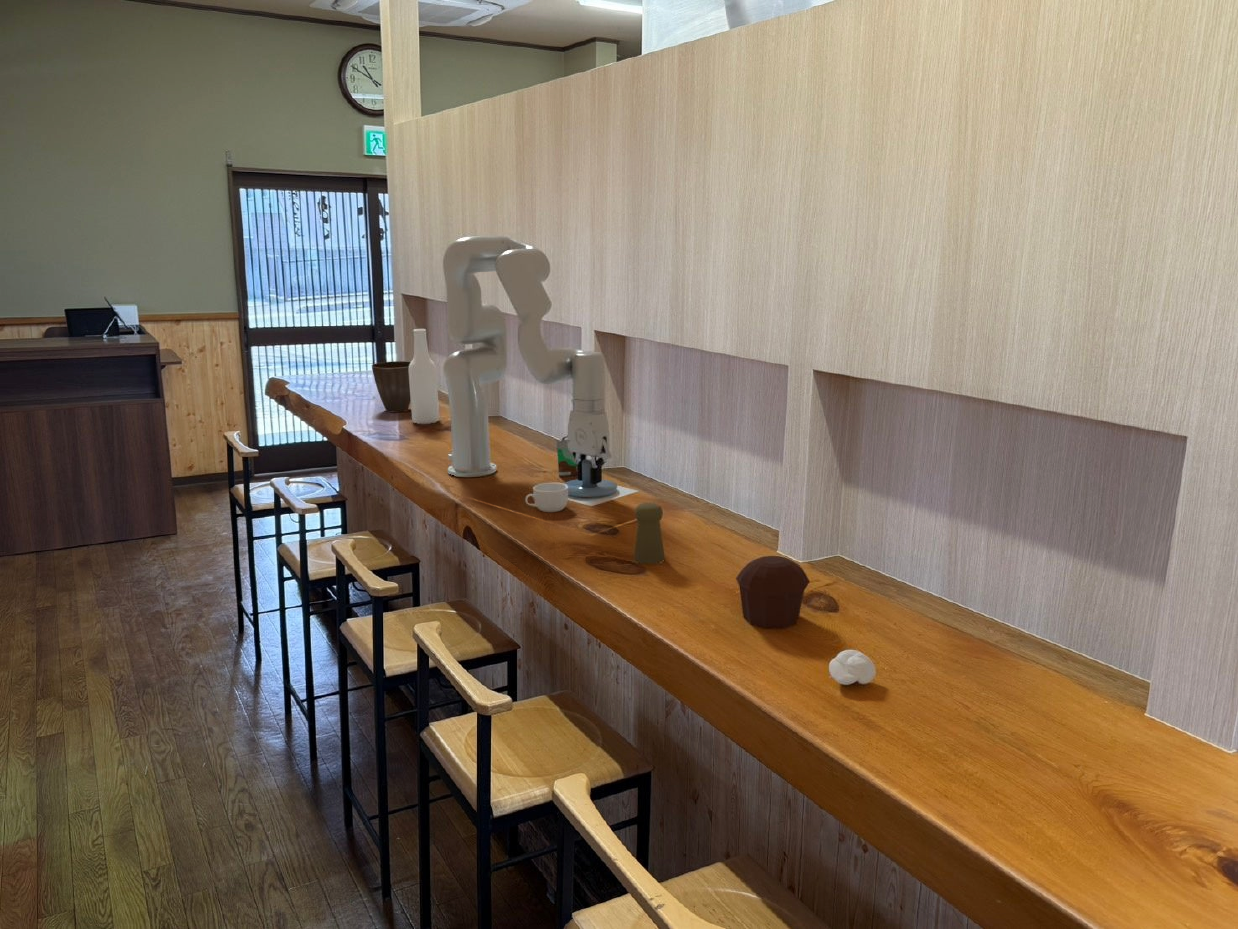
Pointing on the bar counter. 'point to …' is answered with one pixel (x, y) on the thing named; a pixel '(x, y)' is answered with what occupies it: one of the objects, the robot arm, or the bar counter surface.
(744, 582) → the muffin
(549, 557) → the bar counter surface
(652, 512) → the cork
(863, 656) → the dumpling
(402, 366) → the plant pot
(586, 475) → the lid
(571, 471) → the food container
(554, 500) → the teacup
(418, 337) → the alcohol
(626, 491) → the mat
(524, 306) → the robot arm
